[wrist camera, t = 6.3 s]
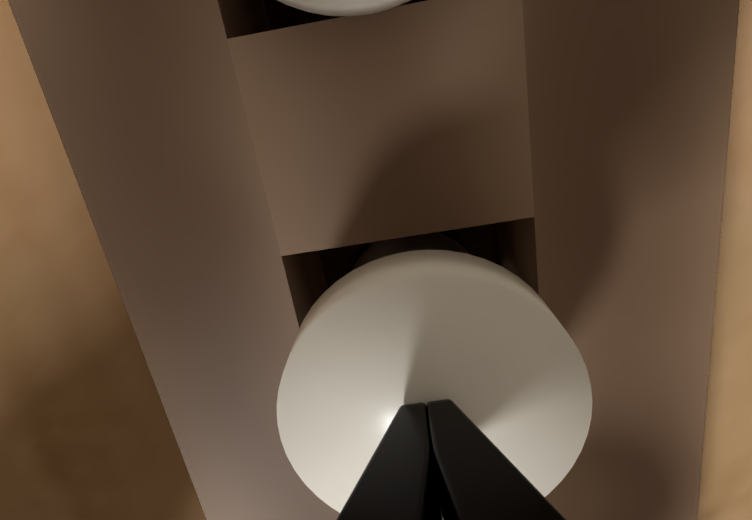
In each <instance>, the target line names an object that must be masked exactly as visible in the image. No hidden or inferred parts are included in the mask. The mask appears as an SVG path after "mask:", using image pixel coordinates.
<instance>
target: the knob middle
mask: <svg viewBox="0 0 752 520" xmlns="http://www.w3.org/2000/svg"><path fill="white" fill-rule="evenodd" d="M444 399H450V400H452V401H453V402H454V403H455V404H456V405H457V406H458V407H459V408H460V409H461V410H462V411H463V412H464V413H465V414H466V416H467V417H468V418H469V419H470V420H471V421H472V422H473V423H474V424H475V425H476V426H477V427H478V428H479V429H480V430H481V431H482V432H483V433H484V434H485V435H486V436H487V437H488V438H489V440H490V441H491V442H492V443H493V444H494V445H495V446H496V447H497V448H498V449H499V450H500V451H501V452H502V453H503V454H504V455H505V456H506V457H507V458H508V459H509V460H510V461H511V462H512V463H513V465H514V466H515V467H516V468H517V469H518V470H519V471H520V472H521V473H522V474H523V475H524V476H525V477H526V478H527V479H528V480H529V481H530V482H531V483H532V484H533V485H534V486H535V487H536V489H537V490H538V491H539V492H540V493H541V494H542V495H543V496H544V497H545V496H547V495H548V494H549V493H550V492H551V491H552V490H553V489H554V488H555V487H556V486H557V485H558V484H559V483H560V482H561V481H562V480H563V479H564V477H565V476H566V475H567V473H568V472H569V471H570V469H571V468H572V467H573V465H574V463H575V462H576V460H577V458H578V456H579V454H580V453H581V451H582V448H583V446H584V443H585V440H586V438H587V435H588V431H589V427H590V422H591V416H592V391H591V383H590V379H589V375H588V371H587V368H586V365H585V363H584V360H583V358H582V356H581V354H580V352H579V349H578V348H577V346H576V345H575V343H574V342H573V340H572V339H571V337H570V336H569V334H568V333H567V331H566V330H565V329H564V327H563V326H562V325H561V323H560V322H559V321H558V319H557V318H556V317H555V315H554V314H553V313H552V311H551V310H550V309H549V307H548V306H547V305H546V303H545V302H544V301H543V300H542V299H541V297H540V296H539V295H538V294H537V293H536V292H535V291H534V290H533V289H532V288H531V287H530V286H529V285H528V284H527V283H525V282H524V281H523V280H522V279H521V278H519V277H518V276H517V275H515V274H513V273H512V272H510V271H509V270H507V269H505V268H504V267H502V266H500V265H497V264H495V263H493V262H491V261H488V260H486V259H483V258H480V257H477V256H473V255H470V254H469V253H468V252H467V251H466V250H465V249H464V248H463V247H462V246H461V245H459V244H458V243H457V242H455V241H454V240H452V239H451V238H449V237H447V236H444V235H442V234H439V233H436V232H434V233H428V234H421V235H415V236H408V237H402V238H395V239H389V240H382V241H376V242H375V243H373V244H372V245H371V246H370V247H369V248H367V249H366V250H365V251H364V253H363V254H362V255H361V256H360V257H359V259H358V260H357V262H356V264H355V266H354V268H353V270H352V271H351V272H349V273H348V274H346V275H345V276H344V277H342V278H341V279H339V280H338V281H336V282H335V283H334V284H333V285H332V286H331V287H330V288H328V289H327V290H326V291H325V292H324V293H323V294H322V295H321V296H320V298H319V299H318V300H317V301H316V302H315V303H314V305H313V306H312V307H311V309H310V310H309V312H308V313H307V315H306V317H305V318H304V320H303V322H302V324H301V326H300V328H299V331H298V333H297V335H296V338H295V341H294V343H293V346H292V349H291V352H290V354H289V357H288V360H287V363H286V365H285V368H284V371H283V374H282V378H281V381H280V385H279V389H278V397H277V406H276V408H277V425H278V429H279V434H280V439H281V442H282V445H283V447H284V450H285V453H286V456H287V457H288V459H289V461H290V463H291V465H292V466H293V468H294V470H295V471H296V473H297V474H298V475H299V477H300V478H301V480H302V481H303V482H304V484H305V485H306V486H307V487H308V488H309V489H310V490H311V491H312V492H313V493H314V494H315V495H316V496H317V497H318V498H320V499H321V500H322V501H323V502H325V503H326V504H327V505H329V506H330V507H331V508H333V509H334V510H336V511H338V512H339V513H340V512H341V511H342V509H343V507H344V505H345V503H346V502H347V500H348V498H349V496H350V495H351V493H352V491H353V489H354V487H355V486H356V484H357V482H358V480H359V479H360V477H361V475H362V473H363V471H364V470H365V468H366V466H367V464H368V463H369V461H370V459H371V457H372V455H373V454H374V452H375V450H376V448H377V447H378V445H379V443H380V441H381V440H382V438H383V436H384V434H385V432H386V431H387V429H388V427H389V425H390V424H391V422H392V420H393V418H394V416H395V415H396V413H397V411H398V409H399V408H400V406H402V405H405V404H413V403H420V402H422V403H424V404H425V405H427V403H428V402H430V401H436V400H444ZM426 409H427V408H426ZM442 518H443V517H442Z"/></svg>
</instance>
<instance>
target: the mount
mask: <svg viewBox="0 0 752 520" xmlns="http://www.w3.org/2000/svg"><path fill="white" fill-rule="evenodd" d="M8 1H9V4H10V7H11V9H12V12H13V15H14V17H15V20H16V22H17V25H18V28H19V30H20V33H21V36H22V38H23V41H24V43H25V46H26V49H27V51H28V54H29V56H30V59H31V62H32V64H33V67H34V70H35V72H36V75H37V77H38V80H39V83H40V85H41V88H42V90H43V93H44V96H45V98H46V101H47V104H48V106H49V109H50V111H51V114H52V117H53V119H54V122H55V124H56V127H57V130H58V132H59V135H60V138H61V140H62V143H63V145H64V148H65V151H66V153H67V156H68V158H69V161H70V164H71V166H72V169H73V172H74V174H75V177H76V179H77V182H78V185H79V187H80V190H81V193H82V195H83V198H84V200H85V203H86V206H87V208H88V211H89V213H90V216H91V219H92V221H93V224H94V227H95V229H96V232H97V234H98V237H99V240H100V242H101V245H102V247H103V250H104V253H105V255H106V258H107V261H108V263H109V266H110V268H111V271H112V274H113V276H114V279H115V281H116V284H117V287H118V289H119V292H120V295H121V297H122V300H123V302H124V305H125V308H126V310H127V313H128V315H129V318H130V321H131V323H132V326H133V329H134V331H135V334H136V336H137V339H138V342H139V344H140V347H141V350H142V352H143V355H144V357H145V360H146V363H147V365H148V368H149V370H150V373H151V376H152V378H153V381H154V384H155V386H156V389H157V391H158V394H159V397H160V399H161V402H162V404H163V407H164V410H165V412H166V415H167V418H168V420H169V423H170V425H171V428H172V431H173V433H174V436H175V438H176V441H177V444H178V446H179V449H180V452H181V454H182V457H183V459H184V462H185V465H186V467H187V470H188V472H189V475H190V478H191V480H192V483H193V486H194V488H195V491H196V493H197V496H198V499H199V501H200V504H201V507H202V509H203V512H204V514H205V517H206V520H336V519H337V518H338V516H339V514H340V513H339V512H338V511H336V510H334V509H333V508H331V507H330V506H329V505H327V504H326V503H325V502H323V501H322V500H321V499H320V498H318V497H317V496H316V495H315V494H314V493H313V492H312V491H311V490H310V489H309V488H308V487H307V486H306V485H305V484H304V482H303V481H302V480H301V478H300V477H299V475H298V474H297V473H296V471H295V470H294V468H293V466H292V465H291V463H290V461H289V459H288V457H287V456H286V453H285V450H284V447H283V445H282V442H281V439H280V434H279V429H278V425H277V408H276V406H277V397H278V389H279V385H280V381H281V378H282V374H283V371H284V368H285V365H286V363H287V360H288V357H289V354H290V352H291V349H292V346H293V343H294V341H295V338H296V335H297V333H298V331H299V328H300V326H301V324H302V322H303V320H304V318H305V317H306V315H307V313H308V312H309V310H310V309H311V307H312V306H313V305H314V303H315V302H316V301H317V300H318V299H319V298H320V296H321V295H322V294H323V293H324V292H325V291H326V290H327V286H326V281H325V276H324V272H323V267H322V263H321V258H320V254H319V250H324V249H330V248H337V247H343V246H350V245H356V244H363V243H369V242H376V241H382V240H389V239H395V238H402V237H408V236H415V235H421V234H428V233H434V232H441V231H447V230H453V229H460V228H466V227H473V226H479V225H486V224H492V223H496V233H497V245H498V257H499V265H500V266H502V267H504V268H505V269H507V270H509V271H510V272H512V273H513V274H515V275H517V276H518V277H519V278H521V279H522V280H523V281H524V282H525V283H527V284H528V285H529V286H530V287H531V288H532V289H533V290H534V291H535V292H536V293H537V294H538V295H539V296H540V297H541V299H542V300H543V301H544V302H545V303H546V305H547V306H548V307H549V309H550V310H551V311H552V313H553V314H554V315H555V317H556V318H557V319H558V321H559V322H560V323H561V325H562V326H563V327H564V329H565V330H566V331H567V333H568V334H569V336H570V337H571V339H572V340H573V342H574V343H575V345H576V346H577V348H578V349H579V352H580V354H581V356H582V358H583V360H584V363H585V365H586V368H587V371H588V375H589V379H590V383H591V391H592V416H591V422H590V427H589V431H588V435H587V438H586V440H585V443H584V446H583V448H582V451H581V453H580V454H579V456H578V458H577V460H576V462H575V463H574V465H573V467H572V468H571V469H570V471H569V472H568V473H567V475H566V476H565V477H564V479H563V480H562V481H561V482H560V483H559V484H558V485H557V486H556V487H555V488H554V489H553V490H552V491H551V492H550V493H549V494H548V495H547V496H545V498H546V499H547V500H548V501H549V502H550V503H551V504H552V505H553V506H554V507H555V508H556V509H557V510H558V511H559V513H560V514H561V515H562V516H563V517H564V518H565V519H566V520H697V513H698V501H699V489H700V477H701V465H702V452H703V440H704V428H705V416H706V403H707V391H708V379H709V367H710V355H711V342H712V330H713V318H714V306H715V294H716V281H717V269H718V257H719V245H720V232H721V220H722V208H723V196H724V184H725V171H726V159H727V147H728V135H729V122H730V110H731V98H732V86H733V74H734V61H735V49H736V37H737V25H738V13H739V0H428V1H422V2H417V3H412V4H407V5H401V6H396V7H394V8H392V9H388V10H384V11H380V12H377V13H373V14H367V15H358V16H344V17H339V18H333V19H328V20H323V21H318V22H312V23H307V24H302V25H297V26H291V27H286V28H281V29H276V30H270V26H269V22H268V17H267V13H266V8H265V4H264V0H8Z"/></svg>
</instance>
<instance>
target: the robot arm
mask: <svg viewBox="0 0 752 520" xmlns="http://www.w3.org/2000/svg"><path fill="white" fill-rule="evenodd" d="M426 408H427V409H426ZM442 517H443V518H442ZM336 520H566V519H565V518H564V517H563V516H562V515H561V514H560V513H559V511H558V510H557V509H556V508H555V507H554V506H553V505H552V504H551V503H550V502H549V501H548V500H547V499H546V498H545V497H544V496H543V495H542V494H541V493H540V492H539V491H538V490H537V489H536V487H535V486H534V485H533V484H532V483H531V482H530V481H529V480H528V479H527V478H526V477H525V476H524V475H523V474H522V473H521V472H520V471H519V470H518V469H517V468H516V467H515V466H514V465H513V463H512V462H511V461H510V460H509V459H508V458H507V457H506V456H505V455H504V454H503V453H502V452H501V451H500V450H499V449H498V448H497V447H496V446H495V445H494V444H493V443H492V442H491V441H490V440H489V438H488V437H487V436H486V435H485V434H484V433H483V432H482V431H481V430H480V429H479V428H478V427H477V426H476V425H475V424H474V423H473V422H472V421H471V420H470V419H469V418H468V417H467V416H466V414H465V413H464V412H463V411H462V410H461V409H460V408H459V407H458V406H457V405H456V404H455V403H454V402H453V401H452V400H450V399H444V400H436V401H430V402H428V403H427V405H425V404H424V403H422V402H420V403H413V404H405V405H402V406H400V408H399V409H398V411H397V413H396V415H395V416H394V418H393V420H392V422H391V424H390V425H389V427H388V429H387V431H386V432H385V434H384V436H383V438H382V440H381V441H380V443H379V445H378V447H377V448H376V450H375V452H374V454H373V455H372V457H371V459H370V461H369V463H368V464H367V466H366V468H365V470H364V471H363V473H362V475H361V477H360V479H359V480H358V482H357V484H356V486H355V487H354V489H353V491H352V493H351V495H350V496H349V498H348V500H347V502H346V503H345V505H344V507H343V509H342V511H341V512H340V514H339V516H338V518H337V519H336Z"/></svg>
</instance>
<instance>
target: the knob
mask: <svg viewBox="0 0 752 520" xmlns="http://www.w3.org/2000/svg"><path fill="white" fill-rule="evenodd" d="M277 1H279V2H281V3H283V4H285V5H288V6H291V7H294V8H297V9H300V10H303V11H306V12H310V13H316V14H321V15H327V16H358V15H367V14H373V13H377V12H380V11H384V10H388V9H392V8H394V7H396V6H399V5H401V4H403V3H406V2H408V1H410V0H277Z"/></svg>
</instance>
